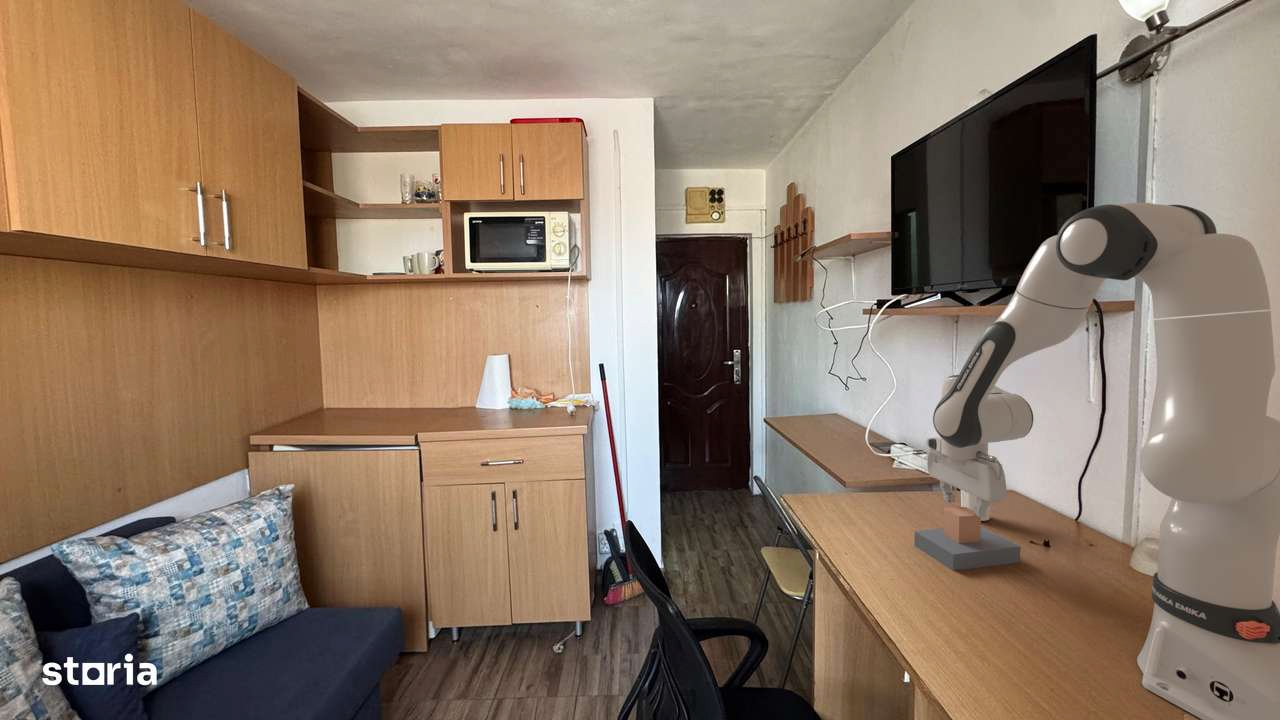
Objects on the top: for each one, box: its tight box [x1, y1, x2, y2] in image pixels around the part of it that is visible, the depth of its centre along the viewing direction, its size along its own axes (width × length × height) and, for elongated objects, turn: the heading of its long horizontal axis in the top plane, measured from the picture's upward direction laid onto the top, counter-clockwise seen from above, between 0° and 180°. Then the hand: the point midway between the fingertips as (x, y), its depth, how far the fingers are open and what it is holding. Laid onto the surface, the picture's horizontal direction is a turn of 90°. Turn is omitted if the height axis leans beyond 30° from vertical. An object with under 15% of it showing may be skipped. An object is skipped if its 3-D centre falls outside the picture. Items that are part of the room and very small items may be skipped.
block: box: [943, 506, 982, 543], centre depth 118 cm, size 5×5×6 cm
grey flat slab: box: [913, 526, 1022, 572], centre depth 118 cm, size 12×16×4 cm
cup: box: [960, 490, 992, 522], centre depth 136 cm, size 8×8×14 cm
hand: (963, 508), depth 117 cm, fingers open, 8 cm apart
